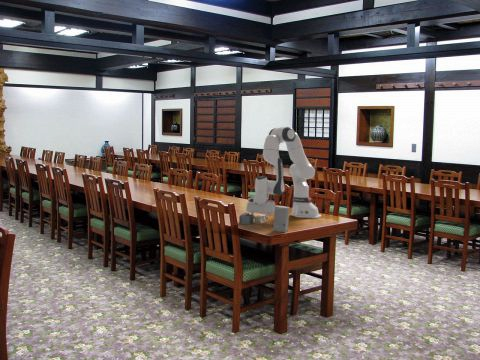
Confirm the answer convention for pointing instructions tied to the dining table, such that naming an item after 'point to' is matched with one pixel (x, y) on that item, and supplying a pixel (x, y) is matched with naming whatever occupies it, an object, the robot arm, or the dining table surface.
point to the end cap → (246, 218)
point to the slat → (260, 218)
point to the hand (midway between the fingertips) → (260, 219)
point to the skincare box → (281, 219)
